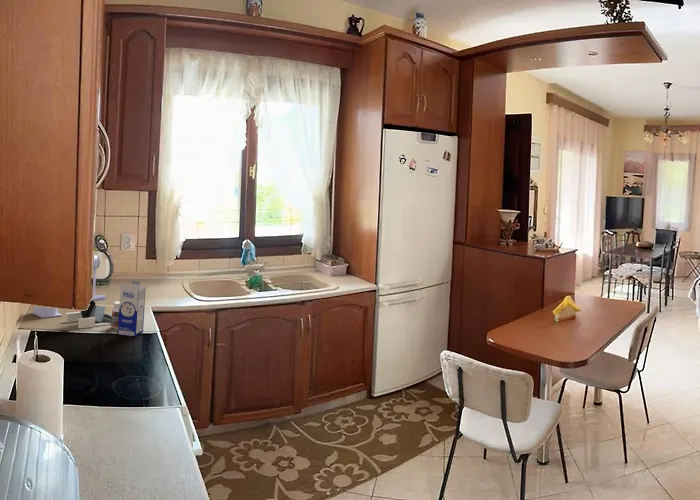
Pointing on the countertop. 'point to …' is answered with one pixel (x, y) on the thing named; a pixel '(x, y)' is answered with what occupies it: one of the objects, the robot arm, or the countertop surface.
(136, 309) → the milk carton
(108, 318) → the pit tray
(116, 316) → the pill bottle
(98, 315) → the block
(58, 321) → the countertop surface
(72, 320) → the channel
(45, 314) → the robot arm
